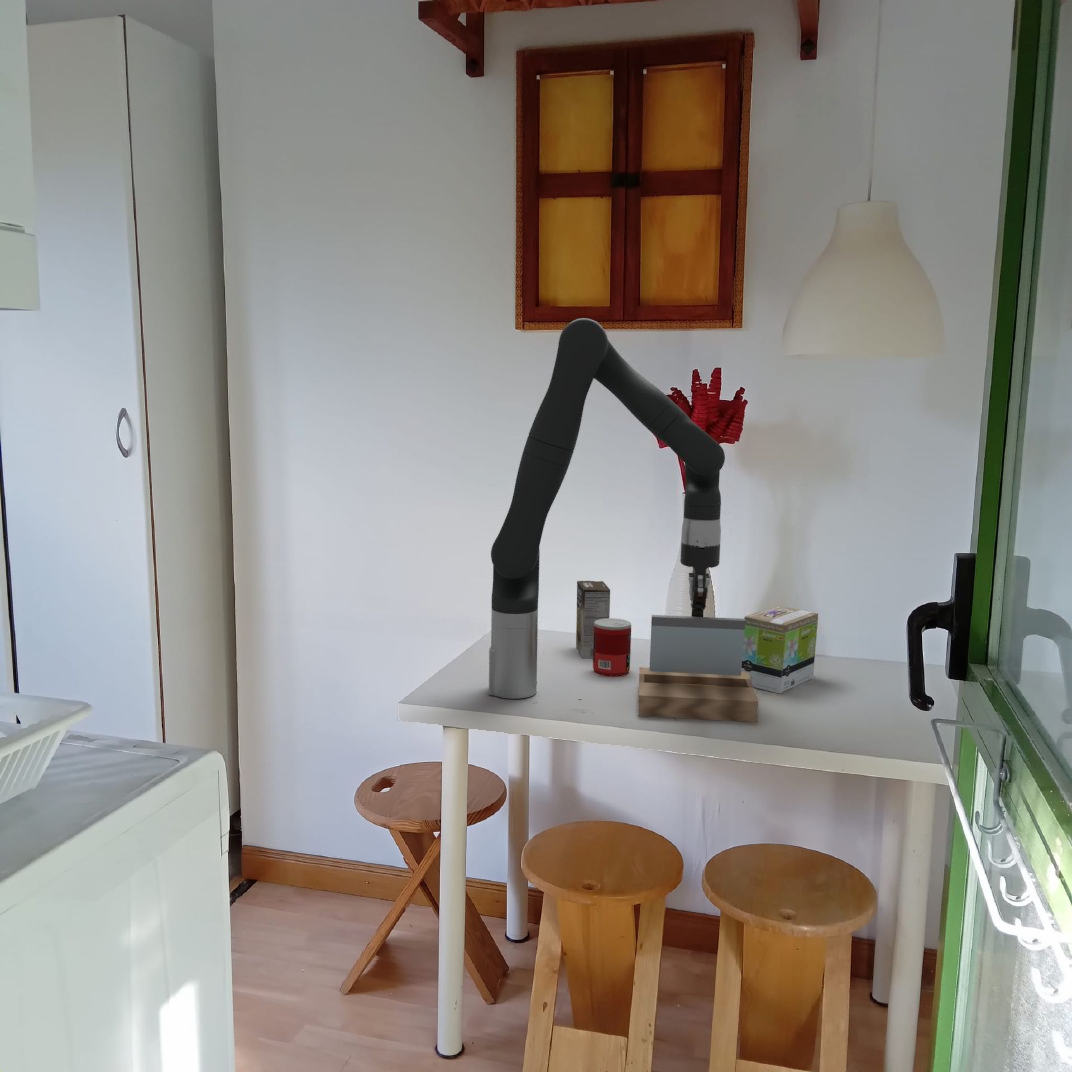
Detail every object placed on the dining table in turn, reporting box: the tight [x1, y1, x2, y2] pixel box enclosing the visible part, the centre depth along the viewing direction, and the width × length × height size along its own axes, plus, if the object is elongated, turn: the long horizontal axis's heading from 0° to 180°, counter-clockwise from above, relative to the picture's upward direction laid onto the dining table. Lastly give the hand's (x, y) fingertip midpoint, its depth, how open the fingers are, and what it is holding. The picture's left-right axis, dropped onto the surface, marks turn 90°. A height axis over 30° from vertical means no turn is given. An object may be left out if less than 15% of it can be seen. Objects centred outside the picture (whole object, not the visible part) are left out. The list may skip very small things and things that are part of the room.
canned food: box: [592, 617, 632, 678], centre depth 210 cm, size 8×8×11 cm
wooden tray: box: [637, 667, 759, 723], centre depth 191 cm, size 22×18×4 cm
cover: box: [649, 614, 746, 676], centre depth 192 cm, size 18×13×1 cm
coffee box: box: [575, 580, 611, 659], centre depth 224 cm, size 9×6×16 cm
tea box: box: [741, 605, 819, 694], centre depth 205 cm, size 15×10×15 cm, turn 139°
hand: (696, 627), depth 192 cm, fingers closed
